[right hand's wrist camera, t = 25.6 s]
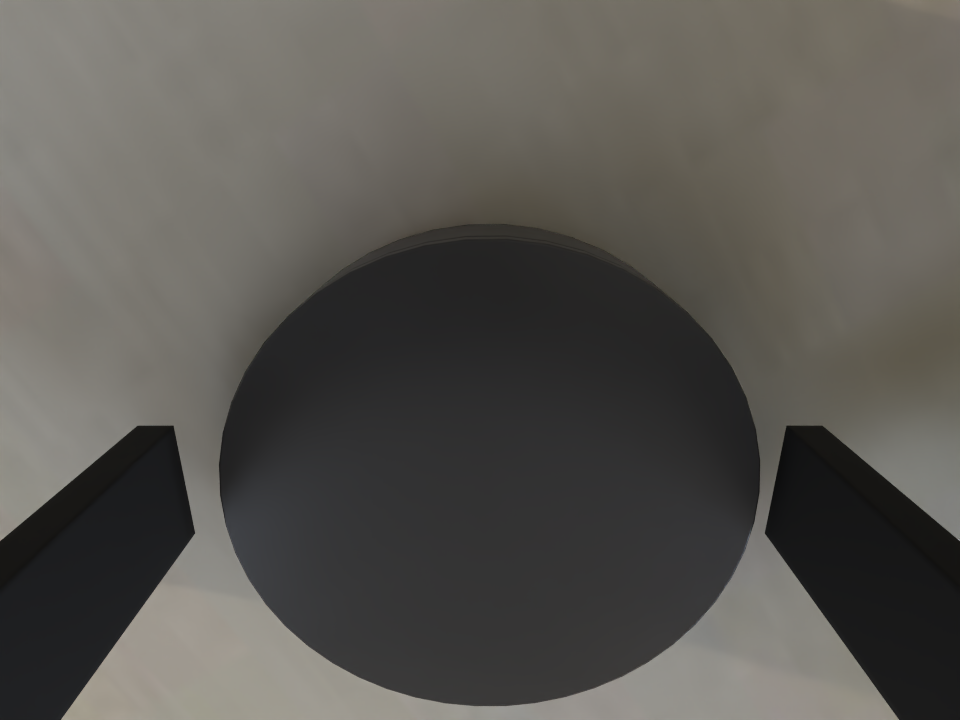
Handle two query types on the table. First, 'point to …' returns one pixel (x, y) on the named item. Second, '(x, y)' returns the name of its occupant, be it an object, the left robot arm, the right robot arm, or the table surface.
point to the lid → (489, 468)
